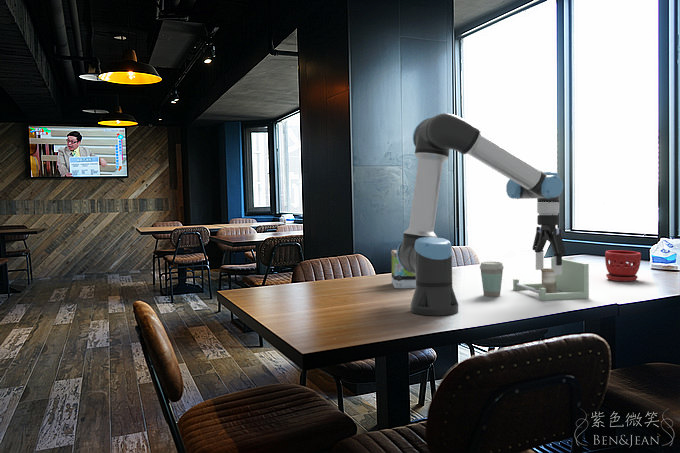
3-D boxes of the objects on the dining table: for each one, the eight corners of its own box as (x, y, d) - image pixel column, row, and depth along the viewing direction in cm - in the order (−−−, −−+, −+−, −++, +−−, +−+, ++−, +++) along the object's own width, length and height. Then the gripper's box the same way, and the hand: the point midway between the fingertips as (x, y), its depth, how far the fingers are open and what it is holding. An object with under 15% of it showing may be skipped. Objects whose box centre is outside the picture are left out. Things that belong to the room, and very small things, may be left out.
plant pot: (611, 282, 217) (611, 253, 216) (601, 277, 230) (600, 250, 229) (646, 282, 215) (646, 252, 214) (633, 277, 228) (633, 249, 227)
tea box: (419, 288, 217) (418, 252, 216) (394, 289, 217) (393, 252, 216) (414, 282, 232) (413, 248, 231) (391, 283, 232) (390, 249, 231)
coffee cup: (505, 297, 192) (504, 264, 191) (480, 297, 194) (480, 264, 193) (502, 293, 200) (502, 261, 200) (479, 293, 202) (478, 261, 202)
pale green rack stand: (541, 300, 185) (541, 265, 184) (513, 289, 208) (512, 258, 207) (588, 297, 187) (588, 263, 186) (555, 287, 210) (555, 256, 209)
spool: (559, 294, 195) (559, 269, 194) (545, 295, 194) (545, 270, 194) (552, 291, 200) (552, 268, 200) (538, 292, 200) (538, 268, 199)
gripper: (576, 214, 184) (576, 276, 185) (541, 213, 209) (541, 267, 210) (555, 215, 183) (555, 276, 184) (523, 213, 208) (523, 268, 209)
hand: (548, 272), depth 197 cm, fingers open, 13 cm apart
